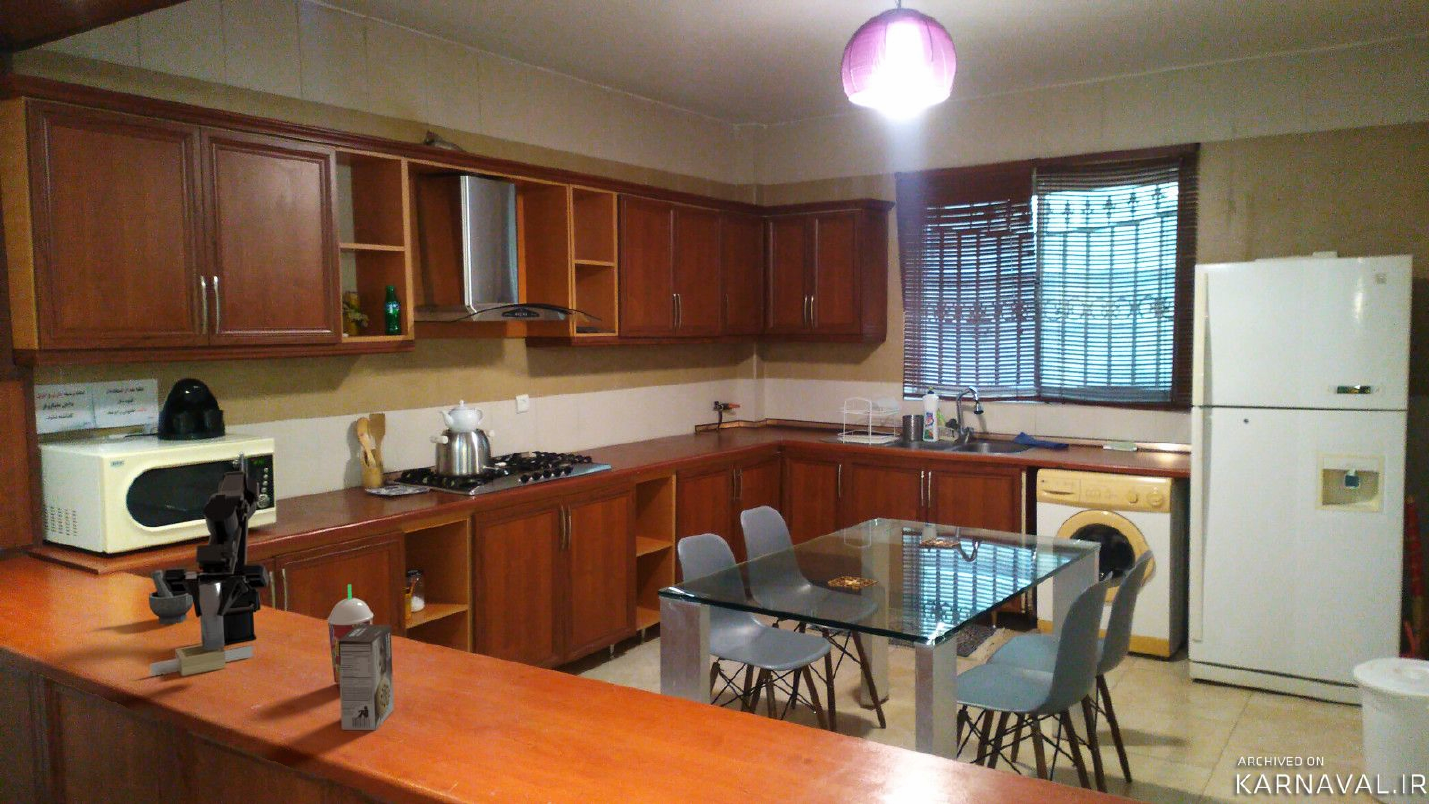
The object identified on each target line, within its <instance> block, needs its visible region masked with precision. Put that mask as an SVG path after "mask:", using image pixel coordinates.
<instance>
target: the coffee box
mask: <svg viewBox="0 0 1429 804" xmlns="http://www.w3.org/2000/svg"><path fill="white" fill-rule="evenodd" d="M391 627H392V626H391V625H387V624H385V625H379V624H373V625H357V626H356V627H354V628H353V629H352V630H351V631H350V632H348V633H347V634H346V635H345V636H344V637H342V638H341V639H340V640H339V641H338V644H339V670H340V688H339V692H340V711H341V712H340V715H341V718H340V719H341V730H343V731H345V730H347V731H377V730H378V728H379V727H380V726H381V725H382V724H383V723H384V721H385V720H387V718H388V717H389V716H390V714H392V712H393V711H394V710H395V704H394V703H395V702H394V699H395V698H394V697H395V696H394V679H393V677H394V675H393V656H392V654H393V653H392V652H393V651H392V631H391Z"/></svg>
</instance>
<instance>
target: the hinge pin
mask: <svg viewBox="0 0 1429 804" xmlns="http://www.w3.org/2000/svg"><path fill="white" fill-rule="evenodd" d="M199 603H200V617H199V618H200V635H201V636H200V637H201V638H200V640H201V644H202V649H203V650H216V649H219V648H224V647H225V644H224V629H223V616H220V607H221V603H222V589H221V581H206V582H202V583H200V584H199Z"/></svg>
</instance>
